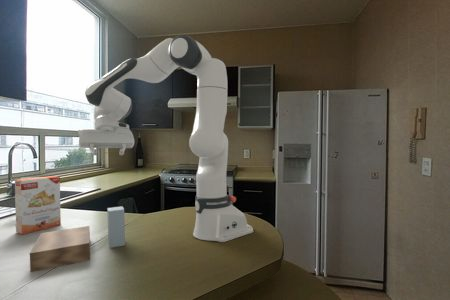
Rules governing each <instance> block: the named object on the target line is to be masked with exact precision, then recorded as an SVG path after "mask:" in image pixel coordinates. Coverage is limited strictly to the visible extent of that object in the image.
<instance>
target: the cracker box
mask: <svg viewBox="0 0 450 300" xmlns="http://www.w3.org/2000/svg"><path fill="white" fill-rule="evenodd" d="M36 177H37V178H28V179H21V178H19V179H18V178H17V179H15V180H14V199H15V200H14V202H15V233H17V234H20V235H22V236H23V235H26V234H31V233H35V232H39V231H42V230H45V229H49V228H53V227H58V226H61V225H62V224H61V223H62V222H61V217H62V215H61V177H60V176H58V175H57V176H56V175H52V176H51V175H50V176H36Z"/></svg>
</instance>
